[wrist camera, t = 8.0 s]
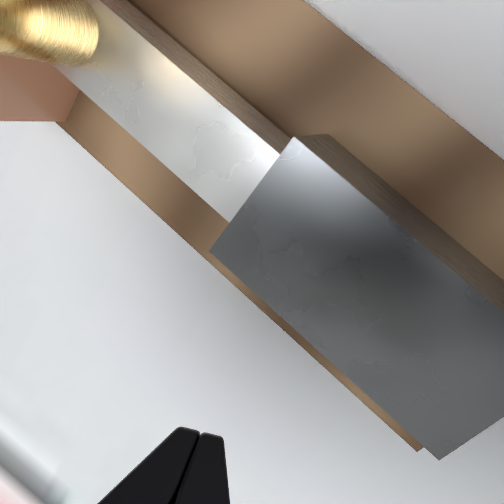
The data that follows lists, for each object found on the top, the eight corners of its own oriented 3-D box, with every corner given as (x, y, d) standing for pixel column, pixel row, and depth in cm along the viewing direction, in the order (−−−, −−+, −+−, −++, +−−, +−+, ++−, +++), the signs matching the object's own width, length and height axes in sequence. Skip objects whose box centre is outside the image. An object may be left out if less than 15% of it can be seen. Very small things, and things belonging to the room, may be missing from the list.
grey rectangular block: (535, 306, 16) (571, 370, 12) (437, 382, 18) (439, 460, 14) (327, 133, 18) (293, 136, 13) (257, 223, 20) (208, 250, 15)
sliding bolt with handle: (337, 178, 17) (201, 253, 7) (289, 235, 18) (117, 367, 8) (79, -41, 18) (-334, -234, 9) (51, 26, 20) (-335, -74, 10)
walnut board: (644, 273, 16) (656, 282, 15) (417, 437, 21) (417, 451, 20) (94, -166, 19) (77, -180, 18) (7, 65, 24) (-9, 63, 23)
